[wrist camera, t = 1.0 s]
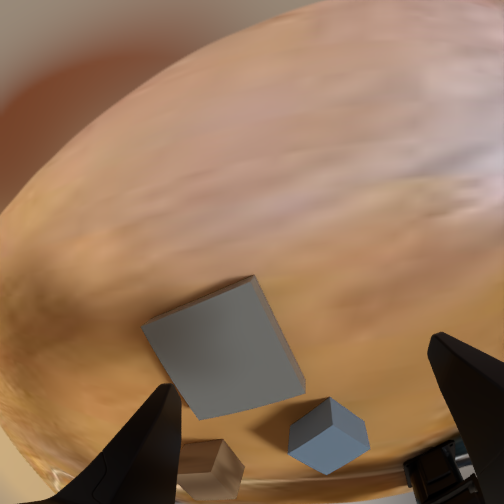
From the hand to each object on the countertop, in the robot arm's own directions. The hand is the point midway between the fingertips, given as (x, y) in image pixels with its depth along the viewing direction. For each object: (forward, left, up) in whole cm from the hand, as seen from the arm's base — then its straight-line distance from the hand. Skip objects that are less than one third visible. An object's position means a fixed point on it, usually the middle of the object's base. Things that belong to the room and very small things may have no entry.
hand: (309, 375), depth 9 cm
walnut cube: (-15, +16, -13) cm, 26 cm away
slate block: (-14, +3, -13) cm, 20 cm away
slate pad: (-3, +8, -13) cm, 16 cm away
